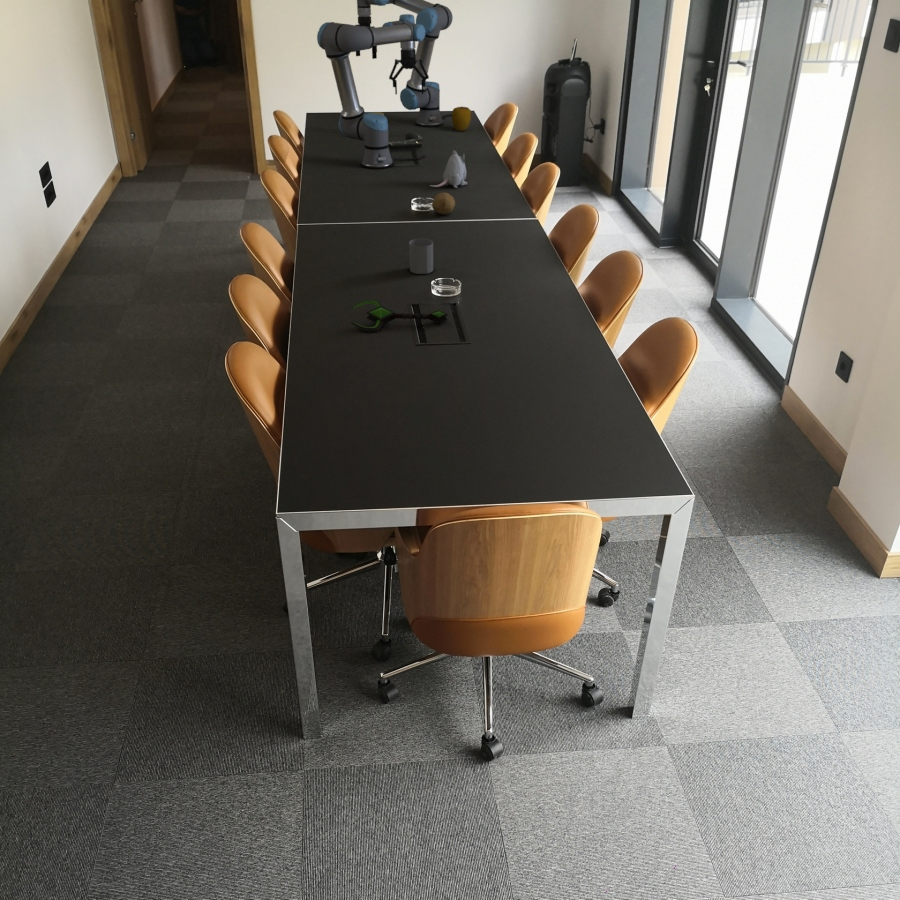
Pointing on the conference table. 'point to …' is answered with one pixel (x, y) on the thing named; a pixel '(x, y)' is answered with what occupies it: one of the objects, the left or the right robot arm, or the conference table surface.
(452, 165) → the toy
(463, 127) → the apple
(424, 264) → the cup
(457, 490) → the conference table surface
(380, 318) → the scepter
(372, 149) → the left robot arm
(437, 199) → the potato
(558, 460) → the conference table surface
